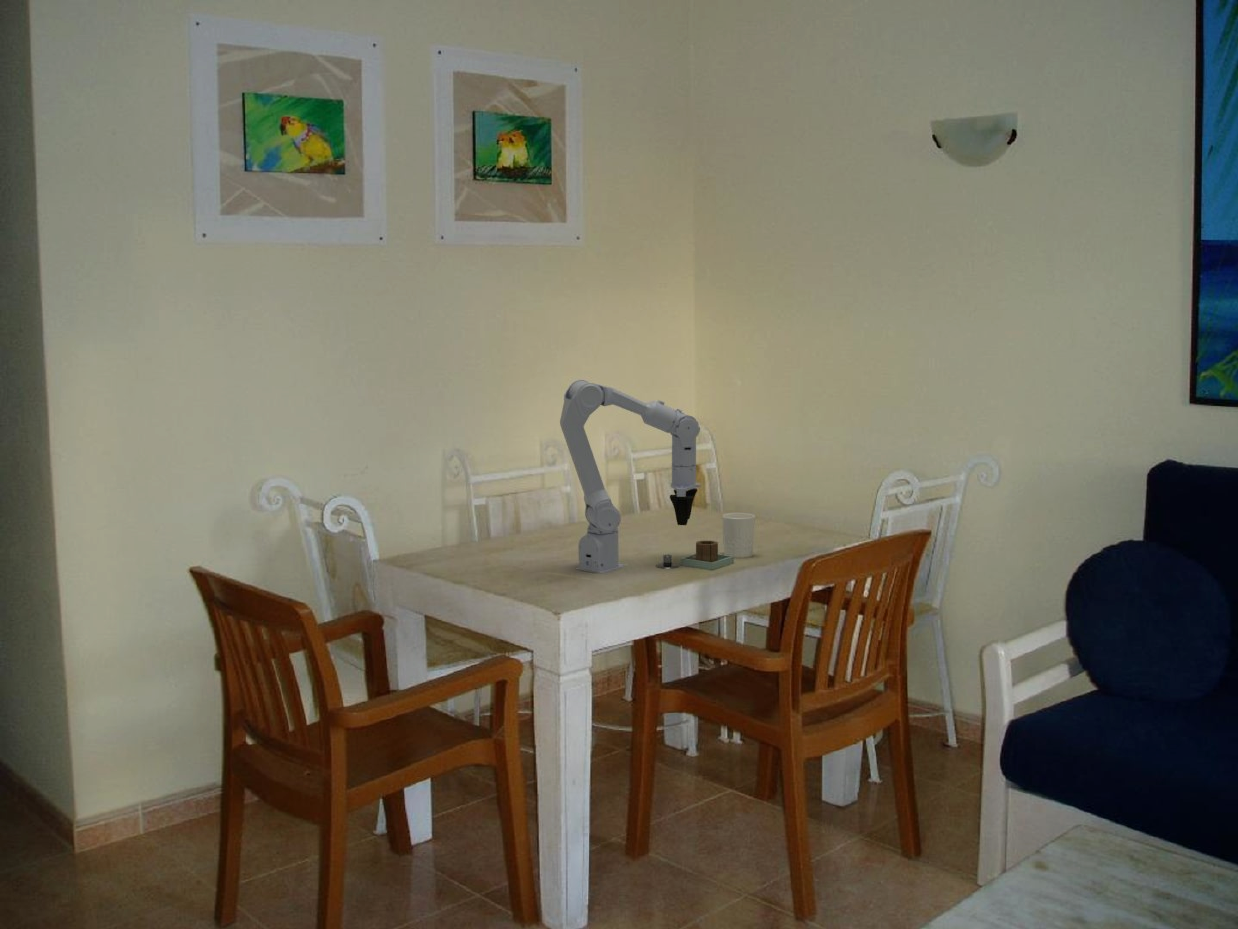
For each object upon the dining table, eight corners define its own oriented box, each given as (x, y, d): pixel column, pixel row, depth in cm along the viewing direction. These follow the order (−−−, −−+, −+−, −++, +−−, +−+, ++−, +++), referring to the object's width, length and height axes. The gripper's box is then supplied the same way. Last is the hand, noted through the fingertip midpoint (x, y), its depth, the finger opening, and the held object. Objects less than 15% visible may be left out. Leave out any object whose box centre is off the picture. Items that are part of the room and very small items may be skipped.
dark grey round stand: (670, 571, 296) (670, 559, 296) (650, 568, 299) (650, 556, 299) (684, 567, 300) (684, 554, 300) (664, 564, 304) (664, 552, 303)
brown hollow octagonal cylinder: (718, 561, 304) (718, 540, 303) (717, 566, 299) (717, 545, 298) (692, 561, 304) (692, 540, 304) (691, 565, 299) (691, 544, 299)
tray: (712, 571, 295) (712, 563, 295) (680, 566, 301) (680, 558, 300) (733, 564, 302) (733, 556, 302) (701, 559, 308) (701, 551, 307)
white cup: (760, 554, 313) (760, 514, 311) (746, 561, 306) (746, 519, 305) (730, 551, 317) (730, 511, 315) (716, 557, 310) (716, 517, 309)
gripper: (698, 469, 294) (698, 528, 296) (703, 461, 308) (702, 516, 310) (667, 469, 295) (667, 527, 297) (673, 460, 309) (673, 516, 311)
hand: (683, 521), depth 304 cm, fingers open, 7 cm apart
